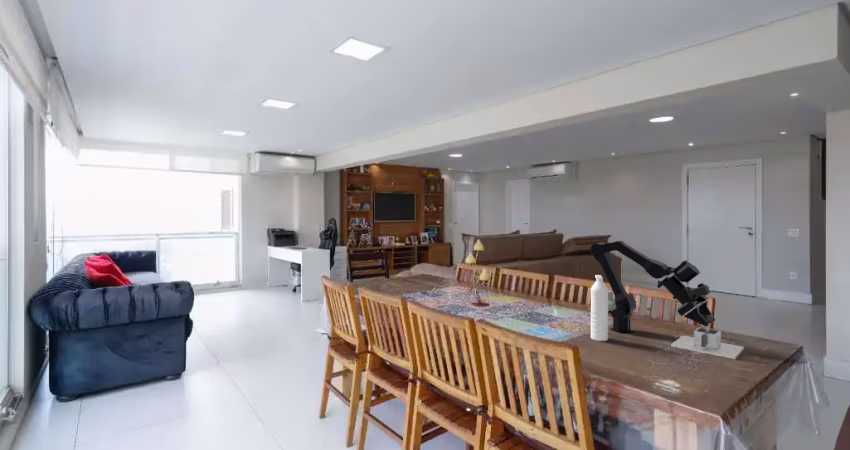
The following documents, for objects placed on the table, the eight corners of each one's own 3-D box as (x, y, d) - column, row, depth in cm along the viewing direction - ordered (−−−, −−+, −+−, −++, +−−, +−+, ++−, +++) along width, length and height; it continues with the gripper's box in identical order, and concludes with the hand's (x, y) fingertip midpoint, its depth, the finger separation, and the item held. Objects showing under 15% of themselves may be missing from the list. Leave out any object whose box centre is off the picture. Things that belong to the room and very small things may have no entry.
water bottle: (609, 341, 168) (609, 278, 167) (591, 340, 170) (591, 278, 169) (606, 335, 176) (606, 275, 175) (589, 334, 178) (589, 274, 177)
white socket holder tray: (671, 346, 162) (671, 329, 162) (683, 337, 172) (683, 322, 172) (735, 359, 148) (735, 341, 147) (744, 348, 158) (744, 332, 158)
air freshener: (604, 307, 225) (604, 288, 224) (619, 309, 219) (619, 290, 218) (593, 310, 218) (593, 291, 217) (609, 313, 212) (609, 293, 211)
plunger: (696, 343, 160) (697, 315, 160) (700, 340, 164) (701, 313, 163) (713, 347, 156) (714, 318, 156) (717, 343, 160) (718, 315, 159)
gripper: (687, 280, 155) (723, 315, 148) (702, 274, 168) (735, 306, 161) (663, 298, 161) (696, 333, 154) (679, 291, 174) (710, 323, 167)
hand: (710, 323), depth 159 cm, fingers open, 9 cm apart
